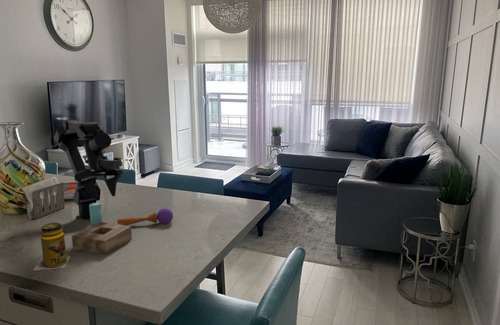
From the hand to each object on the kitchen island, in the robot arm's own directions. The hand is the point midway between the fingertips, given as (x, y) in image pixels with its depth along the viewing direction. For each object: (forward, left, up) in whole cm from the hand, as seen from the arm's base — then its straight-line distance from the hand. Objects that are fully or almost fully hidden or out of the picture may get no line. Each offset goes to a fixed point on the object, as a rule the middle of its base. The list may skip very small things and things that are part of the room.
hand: (105, 197), depth 135 cm
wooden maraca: (+11, +8, -13) cm, 18 cm away
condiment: (+3, -28, -12) cm, 30 cm away
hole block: (+7, -11, -12) cm, 18 cm away
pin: (-4, -1, -12) cm, 13 cm away
